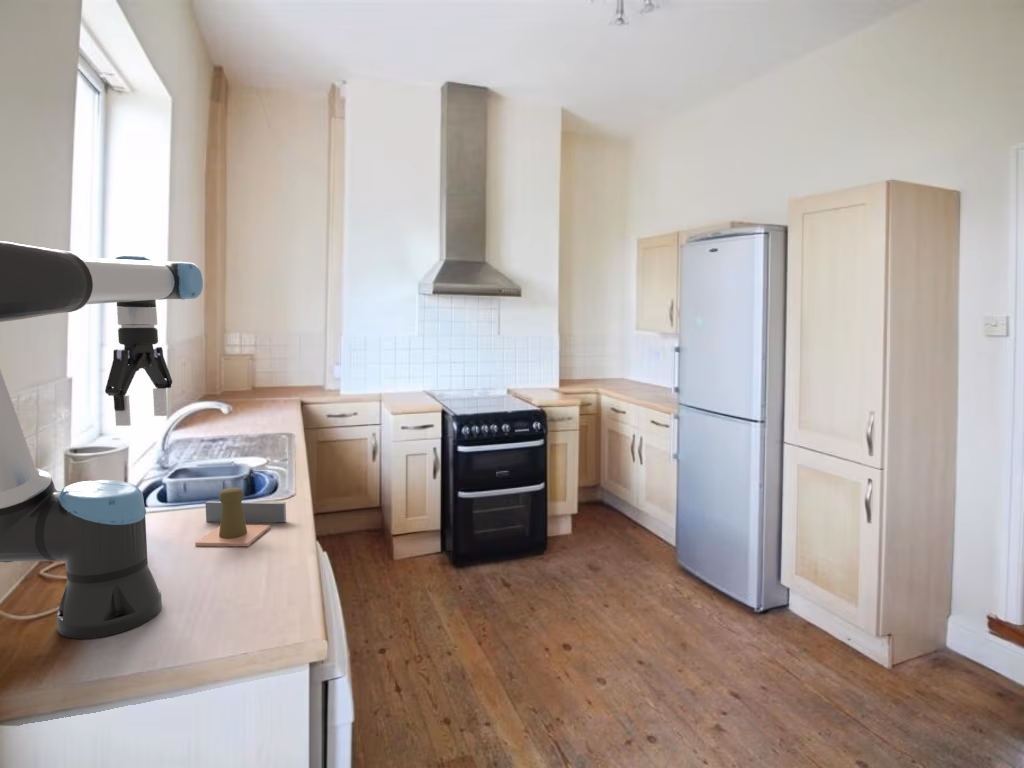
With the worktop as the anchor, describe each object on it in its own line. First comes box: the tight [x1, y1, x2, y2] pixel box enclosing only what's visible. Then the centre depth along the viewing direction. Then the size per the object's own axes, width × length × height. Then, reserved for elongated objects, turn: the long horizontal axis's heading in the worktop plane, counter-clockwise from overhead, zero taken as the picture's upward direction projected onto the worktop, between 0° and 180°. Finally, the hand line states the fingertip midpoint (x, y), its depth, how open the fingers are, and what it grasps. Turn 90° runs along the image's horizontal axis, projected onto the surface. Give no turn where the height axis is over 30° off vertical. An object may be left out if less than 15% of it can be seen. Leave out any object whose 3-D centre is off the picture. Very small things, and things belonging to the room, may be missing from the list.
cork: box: [218, 487, 247, 539], centre depth 140 cm, size 6×6×11 cm
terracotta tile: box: [194, 524, 271, 547], centre depth 141 cm, size 12×12×1 cm
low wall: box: [204, 500, 287, 523], centre depth 152 cm, size 1×20×5 cm, turn 89°
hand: (143, 420), depth 136 cm, fingers open, 13 cm apart
